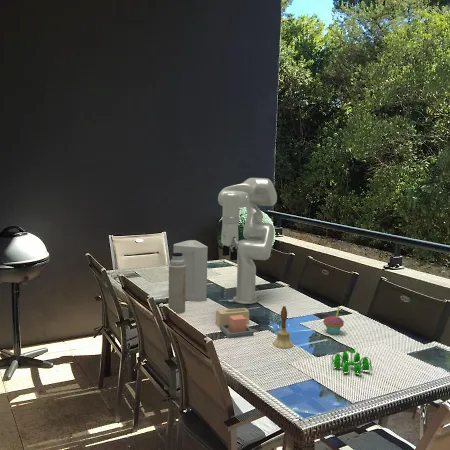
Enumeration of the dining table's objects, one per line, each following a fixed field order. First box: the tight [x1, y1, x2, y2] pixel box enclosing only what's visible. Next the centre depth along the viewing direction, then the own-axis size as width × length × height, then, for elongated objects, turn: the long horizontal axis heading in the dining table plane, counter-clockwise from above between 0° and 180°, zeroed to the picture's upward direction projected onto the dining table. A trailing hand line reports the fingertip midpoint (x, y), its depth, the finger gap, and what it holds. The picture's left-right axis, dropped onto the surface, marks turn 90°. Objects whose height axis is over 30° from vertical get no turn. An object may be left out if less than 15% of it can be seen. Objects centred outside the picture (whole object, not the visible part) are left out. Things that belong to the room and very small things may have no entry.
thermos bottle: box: [167, 252, 186, 314], centre depth 239 cm, size 8×8×28 cm
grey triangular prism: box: [172, 239, 209, 303], centre depth 261 cm, size 19×15×28 cm
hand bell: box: [272, 305, 294, 350], centre depth 202 cm, size 8×8×16 cm
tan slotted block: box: [215, 307, 250, 328], centre depth 225 cm, size 14×5×6 cm, turn 111°
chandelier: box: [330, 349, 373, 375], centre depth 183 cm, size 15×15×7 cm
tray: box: [219, 324, 254, 339], centre depth 215 cm, size 11×11×2 cm
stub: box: [229, 315, 247, 333], centre depth 215 cm, size 6×5×6 cm
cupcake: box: [322, 305, 345, 335], centre depth 217 cm, size 9×8×12 cm
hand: (229, 257), depth 229 cm, fingers open, 9 cm apart
